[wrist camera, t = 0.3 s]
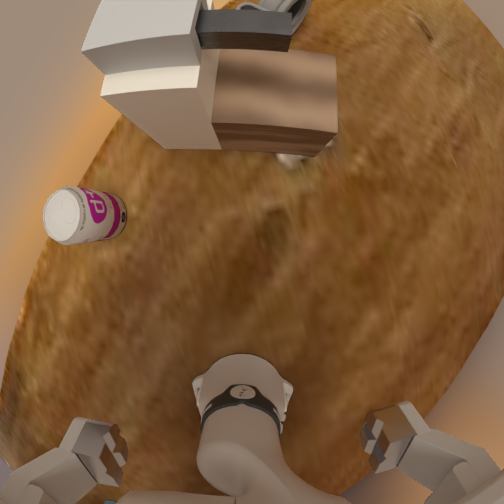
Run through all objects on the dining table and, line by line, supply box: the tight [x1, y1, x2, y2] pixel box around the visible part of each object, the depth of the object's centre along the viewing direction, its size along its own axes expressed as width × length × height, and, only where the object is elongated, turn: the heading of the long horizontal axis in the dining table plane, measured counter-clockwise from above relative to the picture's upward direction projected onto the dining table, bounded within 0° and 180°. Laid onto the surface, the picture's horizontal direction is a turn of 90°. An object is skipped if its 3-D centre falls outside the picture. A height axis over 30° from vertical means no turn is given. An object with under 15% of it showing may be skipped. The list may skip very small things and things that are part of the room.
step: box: [211, 49, 338, 157], centre depth 39 cm, size 12×16×14 cm
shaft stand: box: [81, 0, 222, 150], centre depth 31 cm, size 12×10×29 cm
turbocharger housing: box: [236, 0, 312, 34], centre depth 37 cm, size 17×6×15 cm, turn 143°
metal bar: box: [195, 9, 292, 52], centre depth 21 cm, size 3×20×3 cm, turn 86°
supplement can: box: [43, 186, 126, 245], centre depth 40 cm, size 8×8×15 cm
